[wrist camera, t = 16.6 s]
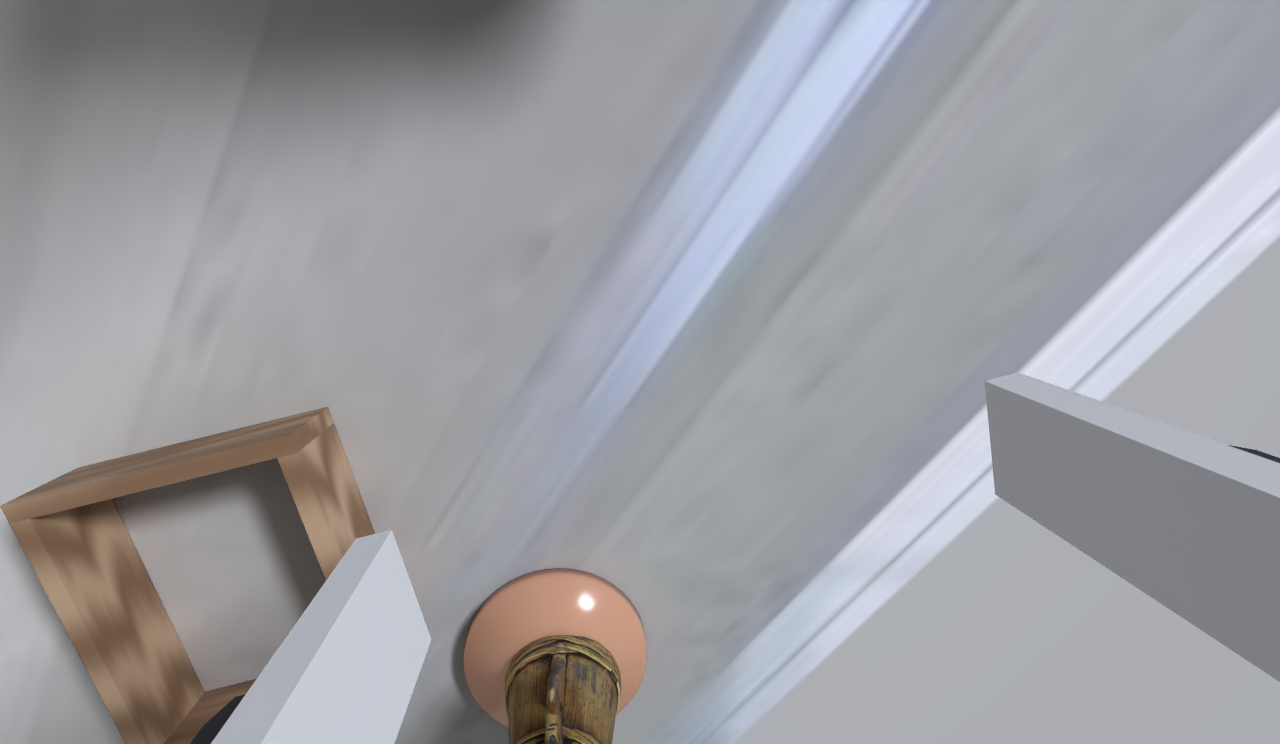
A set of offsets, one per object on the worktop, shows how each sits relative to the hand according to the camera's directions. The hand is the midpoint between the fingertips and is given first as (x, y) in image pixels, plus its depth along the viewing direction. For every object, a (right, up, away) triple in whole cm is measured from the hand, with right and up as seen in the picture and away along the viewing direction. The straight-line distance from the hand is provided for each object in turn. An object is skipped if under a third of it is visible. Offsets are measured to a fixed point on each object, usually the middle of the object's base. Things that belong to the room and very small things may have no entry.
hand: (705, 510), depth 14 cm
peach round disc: (-8, -19, +36) cm, 42 cm away
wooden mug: (-7, -19, +35) cm, 41 cm away
